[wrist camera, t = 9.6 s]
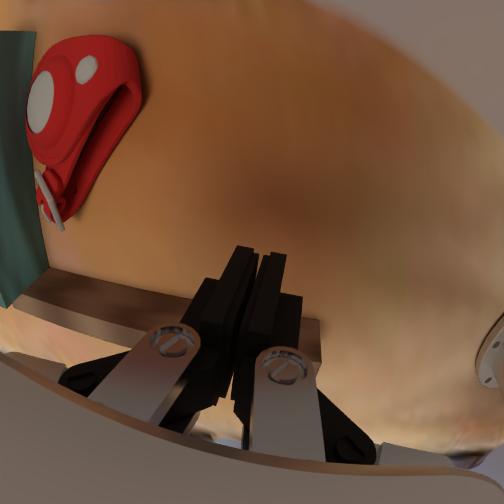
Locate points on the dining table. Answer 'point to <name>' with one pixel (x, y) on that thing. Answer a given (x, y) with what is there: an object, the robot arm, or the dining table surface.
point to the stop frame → (33, 250)
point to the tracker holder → (78, 116)
